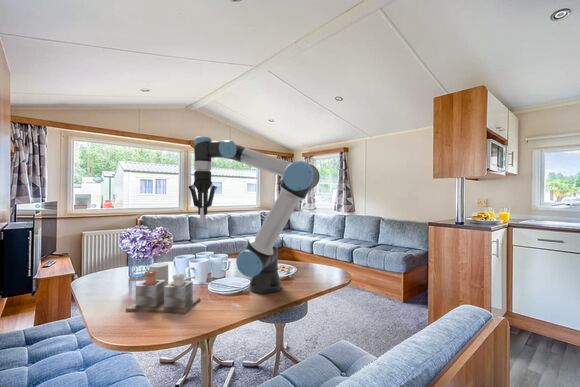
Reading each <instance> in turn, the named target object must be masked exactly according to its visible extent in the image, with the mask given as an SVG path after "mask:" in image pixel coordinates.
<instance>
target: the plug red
mask: <svg viewBox="0 0 580 387" xmlns="http://www.w3.org/2000/svg"><path fill="white" fill-rule="evenodd" d="M156 274H157V271H156V270H151V271H149V270H147V271H144V276H145V281H146V285H154V284H156Z"/></svg>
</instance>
